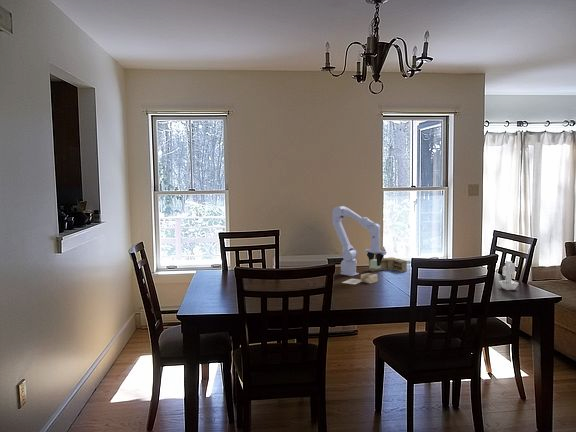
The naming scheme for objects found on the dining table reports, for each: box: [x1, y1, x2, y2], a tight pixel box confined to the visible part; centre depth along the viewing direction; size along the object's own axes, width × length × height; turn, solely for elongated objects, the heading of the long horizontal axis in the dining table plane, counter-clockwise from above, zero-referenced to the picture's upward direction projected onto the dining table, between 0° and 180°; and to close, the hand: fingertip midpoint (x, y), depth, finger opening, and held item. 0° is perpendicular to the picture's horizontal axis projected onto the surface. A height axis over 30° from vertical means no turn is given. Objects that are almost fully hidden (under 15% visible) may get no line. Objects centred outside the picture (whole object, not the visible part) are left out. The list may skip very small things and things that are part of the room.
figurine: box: [498, 260, 519, 291], centre depth 239 cm, size 7×9×15 cm
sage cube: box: [370, 258, 381, 269], centre depth 277 cm, size 4×4×5 cm
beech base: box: [360, 272, 379, 284], centre depth 265 cm, size 7×7×4 cm
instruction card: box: [341, 278, 362, 285], centre depth 267 cm, size 9×12×1 cm
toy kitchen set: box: [368, 246, 408, 273], centre depth 293 cm, size 18×17×15 cm
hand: (375, 265), depth 277 cm, fingers closed on sage cube, 4 cm apart
